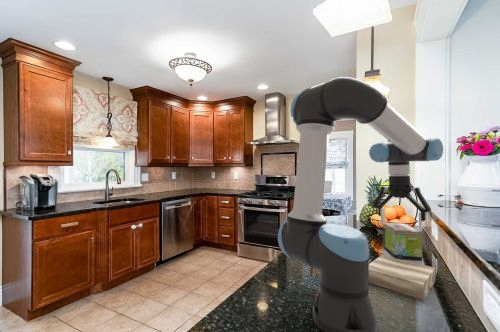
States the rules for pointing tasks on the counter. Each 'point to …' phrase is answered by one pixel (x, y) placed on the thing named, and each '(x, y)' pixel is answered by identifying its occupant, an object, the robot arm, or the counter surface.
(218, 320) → the counter surface
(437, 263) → the counter surface
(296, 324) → the counter surface
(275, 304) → the counter surface
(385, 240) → the tea box
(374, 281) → the birch base block
